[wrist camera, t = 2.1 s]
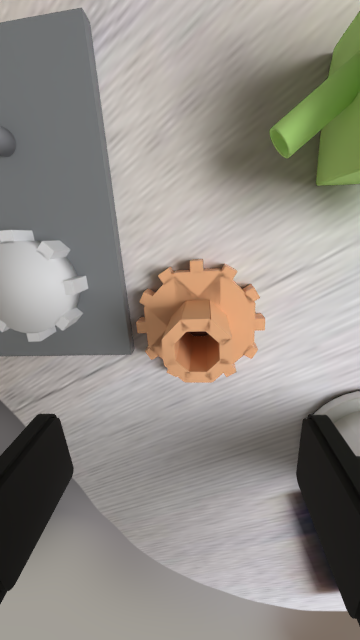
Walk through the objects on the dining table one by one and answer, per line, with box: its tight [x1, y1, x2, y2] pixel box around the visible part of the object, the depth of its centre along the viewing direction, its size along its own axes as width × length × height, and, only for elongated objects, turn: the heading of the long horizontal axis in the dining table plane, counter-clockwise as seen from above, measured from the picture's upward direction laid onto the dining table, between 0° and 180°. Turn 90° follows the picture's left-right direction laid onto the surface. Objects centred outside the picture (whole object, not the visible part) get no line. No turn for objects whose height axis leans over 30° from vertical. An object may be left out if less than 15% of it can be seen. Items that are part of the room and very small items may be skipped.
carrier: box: [0, 8, 134, 356], centre depth 19 cm, size 26×16×7 cm, turn 4°
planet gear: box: [136, 259, 265, 382], centre depth 21 cm, size 12×12×7 cm
